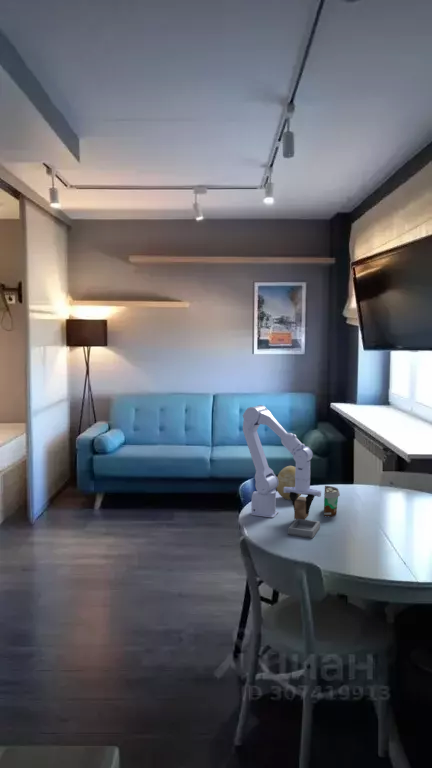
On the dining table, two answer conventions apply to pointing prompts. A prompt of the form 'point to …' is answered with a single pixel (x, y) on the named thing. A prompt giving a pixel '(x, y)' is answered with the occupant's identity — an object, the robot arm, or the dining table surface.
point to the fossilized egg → (286, 481)
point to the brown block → (300, 508)
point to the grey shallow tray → (304, 528)
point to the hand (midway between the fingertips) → (301, 512)
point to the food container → (330, 501)
